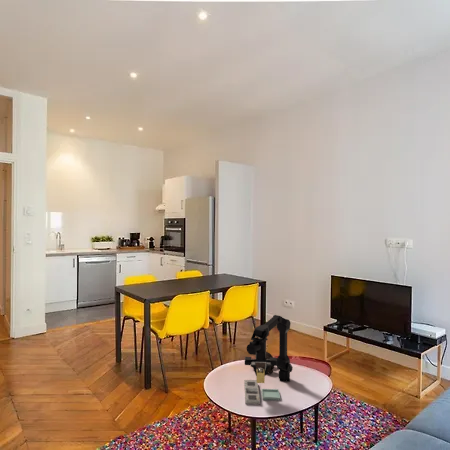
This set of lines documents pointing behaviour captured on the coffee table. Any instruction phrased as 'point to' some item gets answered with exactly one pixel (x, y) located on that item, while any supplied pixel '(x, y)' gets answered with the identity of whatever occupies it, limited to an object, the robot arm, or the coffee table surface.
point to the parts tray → (270, 394)
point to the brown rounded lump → (262, 365)
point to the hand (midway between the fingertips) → (260, 375)
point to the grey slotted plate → (252, 387)
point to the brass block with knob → (260, 375)
